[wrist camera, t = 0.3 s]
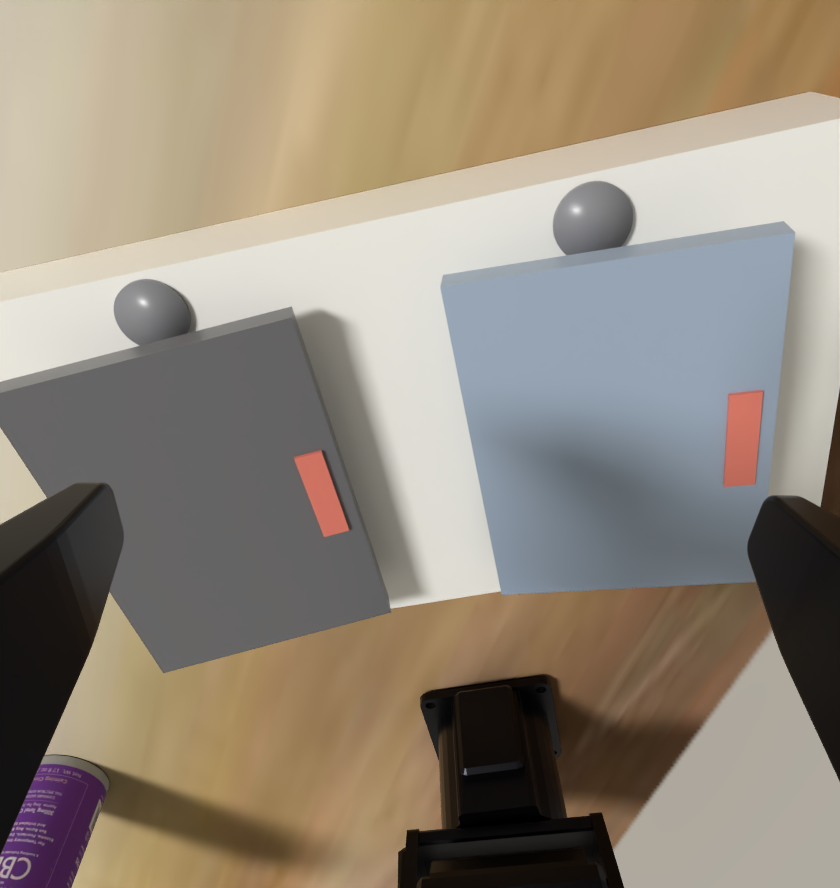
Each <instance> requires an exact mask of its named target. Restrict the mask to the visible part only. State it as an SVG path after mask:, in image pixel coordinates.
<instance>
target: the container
mask: <svg viewBox="0 0 840 888" xmlns="http://www.w3.org/2000/svg"><path fill="white" fill-rule="evenodd" d="M108 788H109V780H108V778H107V776H106V775H105V773H104V772H103V771H102V770H101V769H99V768H98V767H96V766H95V765H93V764H91V763H89V762H87V761H84V760H81V759H78V758H74V757H70V756H61V755H48V756H44V757H43V760H42V762H41V764H40V766H39V769H38V771H37V773H36V776H35V778H34V780H33V782H32V785H31V787H30V789H29V792H28V794H27V796H26V798H25V801H24V803H23V805H22V808H21V810H20V812H19V814H18V817H17V819H16V821H15V824H14V826H13V828H12V830H11V833H10V835H9V837H8V839H7V842H6V844H5V846H4V849H3V851H2V853H1V855H0V888H71V887H72V884H73V882H74V879H75V876H76V874H77V871H78V868H79V866H80V863H81V860H82V858H83V855H84V852H85V850H86V847H87V845H88V842H89V839H90V837H91V834H92V831H93V829H94V826H95V823H96V821H97V818H98V815H99V813H100V810H101V807H102V805H103V802H104V799H105V797H106V794H107V791H108Z"/></svg>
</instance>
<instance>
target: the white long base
mask: <svg viewBox="0 0 840 888" xmlns="http://www.w3.org/2000/svg"><path fill="white" fill-rule="evenodd" d="M781 221H784V222H785V223H786V224H787V225H788V226H789V227H790V228H791V229H793V230H794V231H795V240H794V250H793V259H792V269H791V278H790V288H789V298H788V307H787V317H786V326H785V336H784V345H783V355H782V364H781V374H780V384H779V393H778V403H777V412H776V422H775V431H774V441H773V451H772V460H771V470H770V479H769V489H768V497H769V496H771V495H795V496H800V497H803V498H805V499H807V500H808V501H810V502H812V503H814V504H816V505H818V506H819V507H821V501H822V494H823V488H824V482H825V476H826V470H827V464H828V457H829V451H830V445H831V439H832V433H833V427H834V421H835V414H836V408H837V402H838V396H839V390H840V98H837V97H832V96H828V95H823V94H819V93H814V92H807V93H802V94H798V95H794V96H789V97H785V98H780V99H776V100H771V101H767V102H762V103H758V104H753V105H749V106H744V107H740V108H735V109H731V110H726V111H722V112H717V113H713V114H708V115H704V116H700V117H695V118H691V119H686V120H682V121H677V122H673V123H668V124H664V125H659V126H655V127H650V128H646V129H641V130H637V131H632V132H628V133H623V134H619V135H615V136H610V137H606V138H601V139H597V140H592V141H588V142H583V143H579V144H574V145H570V146H565V147H561V148H556V149H552V150H547V151H543V152H538V153H534V154H530V155H525V156H521V157H516V158H512V159H507V160H503V161H498V162H494V163H489V164H485V165H480V166H476V167H471V168H467V169H462V170H458V171H453V172H449V173H445V174H440V175H436V176H431V177H427V178H422V179H418V180H413V181H409V182H404V183H400V184H395V185H391V186H386V187H382V188H377V189H373V190H368V191H364V192H359V193H355V194H351V195H346V196H342V197H337V198H333V199H328V200H324V201H319V202H315V203H310V204H306V205H301V206H297V207H292V208H288V209H283V210H279V211H274V212H270V213H266V214H261V215H257V216H252V217H248V218H243V219H239V220H234V221H230V222H225V223H221V224H216V225H212V226H207V227H203V228H198V229H194V230H189V231H185V232H181V233H176V234H172V235H167V236H163V237H158V238H154V239H149V240H145V241H140V242H136V243H131V244H127V245H122V246H118V247H113V248H109V249H104V250H100V251H96V252H91V253H87V254H82V255H78V256H73V257H69V258H64V259H60V260H55V261H51V262H46V263H42V264H37V265H33V266H28V267H24V268H19V269H15V270H11V271H6V272H2V273H0V382H1V381H5V380H9V379H13V378H17V377H21V376H24V375H28V374H32V373H36V372H40V371H44V370H48V369H52V368H55V367H59V366H63V365H67V364H71V363H75V362H79V361H82V360H86V359H90V358H94V357H98V356H102V355H106V354H110V353H113V352H117V351H121V350H125V349H129V348H133V347H137V346H140V345H144V344H148V343H152V342H156V341H160V340H164V339H168V338H171V337H175V336H179V335H183V334H187V333H191V332H195V331H198V330H202V329H206V328H210V327H214V326H218V325H222V324H226V323H229V322H233V321H237V320H241V319H245V318H249V317H253V316H257V315H260V314H264V313H268V312H272V311H276V310H280V309H284V308H287V307H291V306H292V308H293V311H294V314H295V317H296V320H297V323H298V326H299V329H300V332H301V335H302V338H303V341H304V344H305V347H306V350H307V353H308V356H309V359H310V362H311V365H312V368H313V371H314V374H315V377H316V380H317V383H318V386H319V389H320V392H321V395H322V398H323V401H324V404H325V407H326V410H327V413H328V416H329V419H330V422H331V425H332V428H333V431H334V434H335V437H336V440H337V443H338V446H339V449H340V452H341V455H342V458H343V461H344V464H345V467H346V470H347V473H348V476H349V479H350V482H351V485H352V488H353V491H354V494H355V497H356V500H357V503H358V506H359V509H360V512H361V515H362V518H363V521H364V524H365V527H366V530H367V533H368V536H369V539H370V542H371V545H372V548H373V551H374V554H375V557H376V560H377V563H378V566H379V569H380V572H381V575H382V578H383V581H384V584H385V587H386V590H387V593H388V596H389V602H390V608H398V607H404V606H410V605H417V604H423V603H429V602H436V601H442V600H448V599H455V598H461V597H467V596H474V595H480V594H486V593H493V592H499V591H501V589H500V584H499V579H498V574H497V569H496V564H495V559H494V554H493V549H492V544H491V539H490V534H489V529H488V524H487V519H486V514H485V509H484V504H483V499H482V494H481V489H480V484H479V479H478V474H477V469H476V464H475V459H474V454H473V449H472V444H471V439H470V434H469V429H468V424H467V419H466V414H465V409H464V404H463V399H462V394H461V389H460V384H459V379H458V374H457V369H456V364H455V359H454V354H453V349H452V344H451V339H450V334H449V329H448V324H447V319H446V314H445V309H444V304H443V299H442V294H441V289H440V286H441V282H442V278H443V275H446V274H452V273H458V272H465V271H471V270H477V269H484V268H490V267H496V266H503V265H509V264H515V263H522V262H528V261H534V260H541V259H547V258H553V257H560V256H566V255H572V254H579V253H585V252H591V251H598V250H604V249H610V248H617V247H623V246H629V245H636V244H642V243H648V242H655V241H661V240H667V239H674V238H680V237H686V236H693V235H699V234H705V233H712V232H718V231H724V230H731V229H737V228H743V227H750V226H756V225H762V224H769V223H775V222H781Z"/></svg>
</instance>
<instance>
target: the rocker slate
mask: <svg viewBox="0 0 840 888" xmlns="http://www.w3.org/2000/svg"><path fill="white" fill-rule="evenodd" d="M794 240H795V231H794V230H793V229H791V228H790V227H789V226H788V225H787V224H786V223H785V222H784V221H781V222H775V223H769V224H762V225H756V226H750V227H743V228H737V229H731V230H724V231H718V232H712V233H705V234H699V235H693V236H686V237H680V238H674V239H667V240H661V241H655V242H648V243H642V244H636V245H629V246H623V247H617V248H610V249H604V250H598V251H591V252H585V253H579V254H572V255H566V256H560V257H553V258H547V259H541V260H534V261H528V262H522V263H515V264H509V265H503V266H496V267H490V268H484V269H477V270H471V271H465V272H458V273H452V274H446V275H443V278H442V282H441V286H440V289H441V294H442V299H443V304H444V309H445V314H446V319H447V324H448V329H449V334H450V339H451V344H452V349H453V354H454V359H455V364H456V369H457V374H458V379H459V384H460V389H461V394H462V399H463V404H464V409H465V414H466V419H467V424H468V429H469V434H470V439H471V444H472V449H473V454H474V459H475V464H476V469H477V474H478V479H479V484H480V489H481V494H482V499H483V504H484V509H485V514H486V519H487V524H488V529H489V534H490V539H491V544H492V549H493V554H494V559H495V564H496V569H497V574H498V579H499V584H500V589H501V594H502V595H509V594H528V593H548V592H567V591H587V590H606V589H626V588H645V587H665V586H684V585H704V584H723V583H743V582H756V579H755V576H754V573H753V570H752V567H751V564H750V561H749V558H748V553H747V543H748V539H749V536H750V533H751V531H752V528H753V526H754V523H755V521H756V518H757V516H758V513H759V510H760V508H761V505H762V503H763V501H764V500H765V499H766V498H767V497H768V489H769V479H770V470H771V460H772V451H773V441H774V431H775V422H776V412H777V403H778V393H779V384H780V374H781V364H782V355H783V345H784V336H785V326H786V317H787V307H788V298H789V288H790V278H791V269H792V259H793V250H794Z"/></svg>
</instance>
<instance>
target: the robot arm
mask: <svg viewBox="0 0 840 888" xmlns="http://www.w3.org/2000/svg"><path fill="white" fill-rule="evenodd" d="M123 542H124V530H123V526H122V522H121V518H120V515H119V511H118V507H117V503H116V500H115V496H114V492H113V490H112V488H111V487H110V485H108V484H107V483H104V482H77V483H74V484H72V485H70V486H68V487H67V488H65V489H63V490H61V491H59V492H58V493H56V494H54V495H52V496H51V497H49V498H47V499H45V500H43V501H42V502H40V503H38V504H36V505H34V506H33V507H31V508H29V509H27V510H26V511H24V512H22V513H20V514H18V515H17V516H15V517H13V518H11V519H10V520H8V521H6V522H4V523H2V524H1V525H0V855H1V853H2V851H3V849H4V846H5V844H6V842H7V839H8V837H9V835H10V833H11V830H12V828H13V826H14V824H15V821H16V819H17V817H18V814H19V812H20V810H21V808H22V805H23V803H24V801H25V798H26V796H27V794H28V792H29V789H30V787H31V785H32V782H33V780H34V778H35V776H36V773H37V771H38V769H39V766H40V764H41V762H42V760H43V757H44V755H45V753H46V751H47V748H48V746H49V744H50V741H51V739H52V737H53V735H54V732H55V730H56V728H57V725H58V723H59V721H60V719H61V716H62V714H63V712H64V709H65V707H66V705H67V703H68V700H69V698H70V696H71V693H72V691H73V689H74V687H75V684H76V682H77V680H78V678H79V675H80V673H81V671H82V668H83V666H84V664H85V662H86V659H87V657H88V654H89V652H90V649H91V647H92V644H93V641H94V638H95V636H96V633H97V630H98V626H99V623H100V620H101V617H102V613H103V610H104V607H105V603H106V600H107V597H108V594H109V590H110V587H111V584H112V580H113V577H114V574H115V571H116V567H117V564H118V561H119V557H120V554H121V551H122V547H123ZM747 553H748V558H749V561H750V564H751V567H752V570H753V573H754V576H755V579H756V582H757V585H758V588H759V591H760V594H761V597H762V600H763V603H764V606H765V609H766V612H767V615H768V618H769V621H770V624H771V627H772V630H773V633H774V636H775V639H776V641H777V644H778V647H779V649H780V652H781V654H782V657H783V659H784V661H785V664H786V666H787V668H788V670H789V673H790V675H791V677H792V679H793V681H794V683H795V686H796V688H797V690H798V692H799V694H800V697H801V698H802V701H803V703H804V705H805V707H806V709H807V711H808V714H809V716H810V718H811V720H812V722H813V725H814V727H815V729H816V731H817V733H818V735H819V738H820V740H821V742H822V744H823V746H824V748H825V750H826V752H827V755H828V757H829V759H830V761H831V763H832V766H833V768H834V770H835V772H836V774H837V776H838V779H839V781H840V517H838V516H836V515H834V514H832V513H830V512H829V511H827V510H825V509H823V508H821V507H819V506H818V505H816V504H814V503H812V502H810V501H808V500H807V499H805V498H803V497H800V496H795V495H771V496H769V497H767V498H766V499H765V500H764V501H763V503H762V505H761V508H760V510H759V513H758V516H757V518H756V521H755V523H754V526H753V528H752V531H751V533H750V536H749V539H748V543H747ZM420 704H421V710H422V713H423V716H424V719H425V722H426V724H427V727H428V730H429V733H430V736H431V739H432V742H433V745H434V748H435V751H436V754H437V757H438V760H439V769H440V793H441V817H442V829H439V830H428V831H419V829H414V830H407V837H406V847H405V848H404V849H402V850H401V851H399V852H398V888H624V886H623V883H622V879H621V876H620V872H619V869H618V866H617V862H616V859H615V856H614V852H613V849H612V846H611V842H610V839H609V835H608V832H607V829H606V825H605V822H604V819H603V815H602V813H601V812H600V813H589V816H582V817H571V818H567V813H566V808H565V803H564V798H563V793H562V788H561V783H560V778H559V773H558V767H557V762H556V757H558V756H560V755H561V747H560V740H559V734H558V728H557V721H556V715H555V709H554V702H553V696H552V690H551V685H550V681H549V679H548V678H546V677H533V678H526V679H519V680H512V681H505V682H498V683H491V684H484V685H477V686H470V687H463V688H457V689H450V690H443V691H436V692H429V693H425V694H423V695H422V696H421V697H420Z"/></svg>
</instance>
